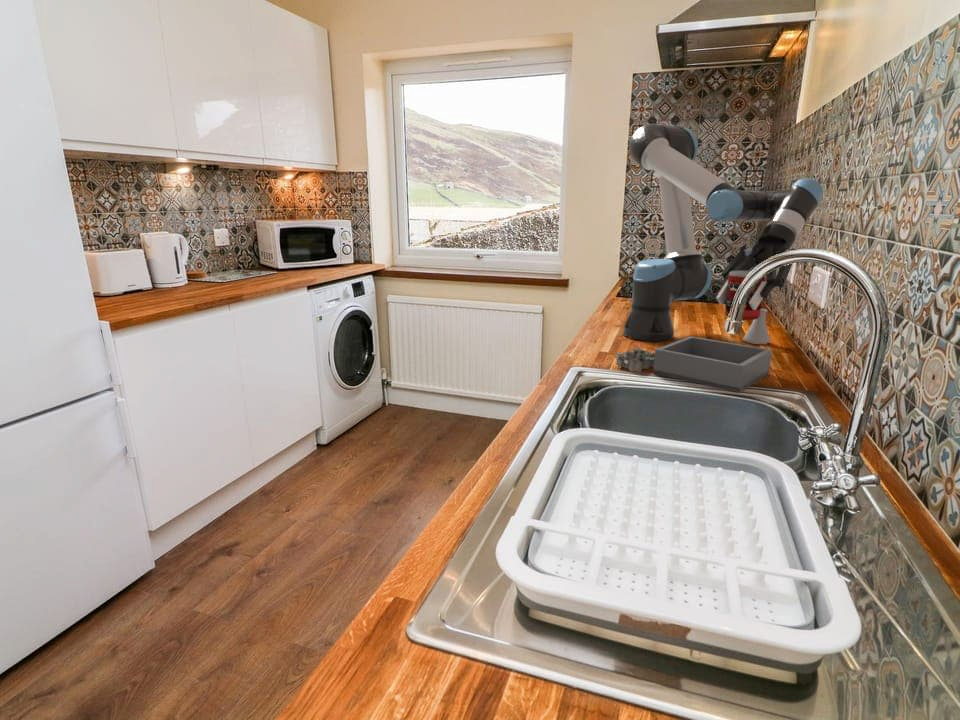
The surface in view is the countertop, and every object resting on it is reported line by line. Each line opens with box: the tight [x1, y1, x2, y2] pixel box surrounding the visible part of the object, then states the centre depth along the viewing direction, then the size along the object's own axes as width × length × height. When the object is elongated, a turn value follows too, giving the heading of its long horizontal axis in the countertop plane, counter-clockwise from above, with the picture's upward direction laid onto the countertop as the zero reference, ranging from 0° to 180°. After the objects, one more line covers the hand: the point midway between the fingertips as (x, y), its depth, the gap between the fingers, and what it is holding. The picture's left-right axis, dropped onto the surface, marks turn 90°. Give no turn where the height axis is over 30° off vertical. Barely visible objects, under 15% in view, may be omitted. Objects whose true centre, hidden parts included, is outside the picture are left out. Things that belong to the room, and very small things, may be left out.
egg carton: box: [614, 347, 655, 372], centre depth 136 cm, size 11×8×4 cm
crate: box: [652, 335, 773, 393], centre depth 130 cm, size 20×20×6 cm
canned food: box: [724, 270, 766, 321], centre depth 133 cm, size 8×8×11 cm
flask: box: [742, 308, 772, 345], centre depth 162 cm, size 7×7×10 cm
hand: (735, 303), depth 132 cm, fingers closed on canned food, 8 cm apart
